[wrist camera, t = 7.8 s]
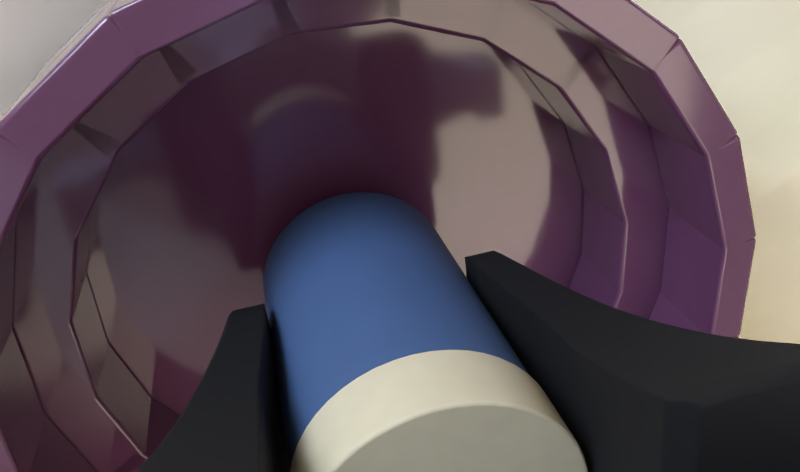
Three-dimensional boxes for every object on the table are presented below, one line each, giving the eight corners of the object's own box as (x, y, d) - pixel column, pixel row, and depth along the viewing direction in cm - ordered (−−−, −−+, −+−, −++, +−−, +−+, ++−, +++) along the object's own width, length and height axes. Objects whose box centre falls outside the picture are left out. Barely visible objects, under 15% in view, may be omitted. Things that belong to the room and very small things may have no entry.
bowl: (658, -121, 15) (818, -117, 11) (615, 421, 22) (705, 544, 18) (-111, -48, 13) (-253, -10, 9) (105, 540, 19) (80, 713, 15)
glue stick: (436, 170, 15) (590, 369, 9) (454, 330, 17) (590, 581, 11) (241, 212, 15) (268, 452, 9) (281, 373, 17) (327, 662, 11)
